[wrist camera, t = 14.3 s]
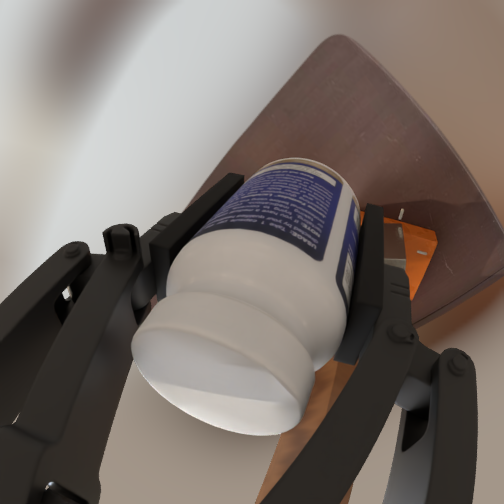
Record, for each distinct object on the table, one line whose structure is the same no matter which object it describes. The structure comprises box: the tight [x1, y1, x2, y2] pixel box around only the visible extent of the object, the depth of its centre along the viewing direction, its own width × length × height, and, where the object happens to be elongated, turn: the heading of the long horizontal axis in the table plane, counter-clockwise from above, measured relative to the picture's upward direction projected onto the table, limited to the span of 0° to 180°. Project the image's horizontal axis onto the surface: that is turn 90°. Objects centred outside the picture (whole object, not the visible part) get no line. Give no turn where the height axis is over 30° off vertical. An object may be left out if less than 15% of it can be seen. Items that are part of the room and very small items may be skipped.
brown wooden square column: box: [255, 356, 359, 504], centre depth 36 cm, size 10×10×38 cm
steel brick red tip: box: [384, 223, 406, 271], centre depth 35 cm, size 6×2×8 cm, turn 11°
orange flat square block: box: [360, 209, 438, 300], centre depth 40 cm, size 12×13×3 cm
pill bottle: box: [131, 158, 361, 435], centre depth 11 cm, size 6×6×10 cm
